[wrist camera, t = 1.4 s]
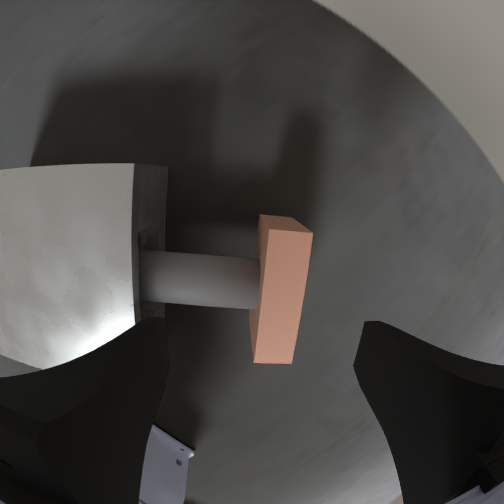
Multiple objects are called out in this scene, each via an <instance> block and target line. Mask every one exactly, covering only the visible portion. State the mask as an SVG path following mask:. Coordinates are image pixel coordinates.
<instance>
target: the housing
mask: <svg viewBox="0 0 504 504" xmlns="http://www.w3.org/2000/svg"><path fill="white" fill-rule="evenodd" d="M168 172H169V167H164V166H155V165H145V164H135V163H109V164H72V165H52V166H38V167H25V168H14V169H5V170H0V354H1V355H3V356H6V357H8V358H11V359H14V360H17V361H19V362H22V363H25V364H28V365H31V366H34V367H37V368H40V369H43V370H44V369H47V368H50V367H54V366H57V365H60V364H63V363H66V362H68V361H71V360H73V359H75V358H78V357H80V356H82V355H84V354H87V353H89V352H91V351H93V350H94V349H96V348H98V347H100V346H101V345H103V344H105V343H107V342H108V341H110V340H112V339H114V338H115V337H117V336H118V335H120V334H121V333H123V332H124V331H126V330H128V329H129V328H131V327H132V326H134V325H135V324H137V323H138V322H140V321H141V320H143V319H144V318H146V317H148V316H150V317H162V318H165V302H155V301H146V300H140V299H139V273H138V249H140V250H153V251H165V226H166V203H167V186H168Z"/></svg>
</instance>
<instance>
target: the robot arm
mask: <svg viewBox="0 0 504 504" xmlns="http://www.w3.org/2000/svg"><path fill="white" fill-rule="evenodd" d="M353 367H354V370H355V373H356V376H357V379H358V382H359V385H360V387H361V389H362V391H363V393H364V395H365V397H366V399H367V401H368V403H369V404H370V406H371V408H372V410H373V412H374V414H375V416H376V418H377V420H378V421H379V423H380V425H381V427H382V429H383V431H384V434H385V436H386V438H387V441H388V444H389V447H390V450H391V453H392V456H393V459H394V462H395V466H396V469H397V473H398V477H399V481H400V486H401V491H402V496H403V502H404V504H504V366H502V365H496V364H490V363H485V362H481V361H476V360H473V359H469V358H466V357H463V356H459V355H456V354H453V353H451V352H448V351H445V350H443V349H441V348H438V347H436V346H434V345H431V344H429V343H427V342H425V341H423V340H421V339H418V338H416V337H414V336H412V335H410V334H408V333H406V332H404V331H402V330H400V329H398V328H396V327H393V326H391V325H389V324H386V323H384V322H381V321H365V322H364V327H363V331H362V335H361V339H360V343H359V346H358V350H357V354H356V358H355V361H354V365H353ZM168 368H169V359H168V348H167V336H166V323H165V318H162V317H150V316H148V317H146V318H144V319H143V320H141V321H140V322H138V323H137V324H135V325H134V326H132V327H131V328H129V329H128V330H126V331H124V332H123V333H121V334H120V335H118V336H117V337H115V338H114V339H112V340H110V341H108V342H107V343H105V344H103V345H101V346H100V347H98V348H96V349H94V350H93V351H91V352H89V353H87V354H84V355H82V356H80V357H78V358H75V359H73V360H71V361H68V362H66V363H63V364H60V365H57V366H54V367H50V368H47V369H44V370H41V371H37V372H32V373H28V374H23V375H17V376H11V377H1V378H0V504H183V503H184V499H185V490H186V480H187V471H188V462H189V458H190V457H192V456H194V451H193V450H191V449H190V448H188V447H186V446H185V445H183V444H182V443H180V442H179V441H177V440H175V439H174V438H172V437H171V436H169V435H168V434H166V433H165V432H163V431H162V430H161V429H159V428H158V427H156V426H155V425H153V422H154V419H155V416H156V413H157V410H158V407H159V404H160V401H161V398H162V395H163V392H164V389H165V385H166V379H167V374H168Z"/></svg>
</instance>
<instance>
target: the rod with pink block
mask: <svg viewBox="0 0 504 504" xmlns="http://www.w3.org/2000/svg"><path fill="white" fill-rule="evenodd" d="M312 238H313V233H312V232H311V231H310V230H308V229H307V228H306V227H304V226H303V225H302V224H300V223H299V222H298V221H296V220H295V219H294V218H292V217H283V216H272V215H261V214H259V224H258V234H257V244H256V255H255V258H245V257H232V256H218V255H205V254H192V253H179V252H166V251H153V250H140V249H138V273H139V299H140V300H146V301H155V302H165V303H176V304H187V305H198V306H211V307H224V308H239V309H250V315H249V324H250V332H251V341H252V350H253V358H254V363H285V364H292V359H293V353H294V348H295V343H296V338H297V332H298V327H299V321H300V316H301V310H302V304H303V298H304V292H305V286H306V279H307V273H308V266H309V259H310V253H311V245H312Z"/></svg>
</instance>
